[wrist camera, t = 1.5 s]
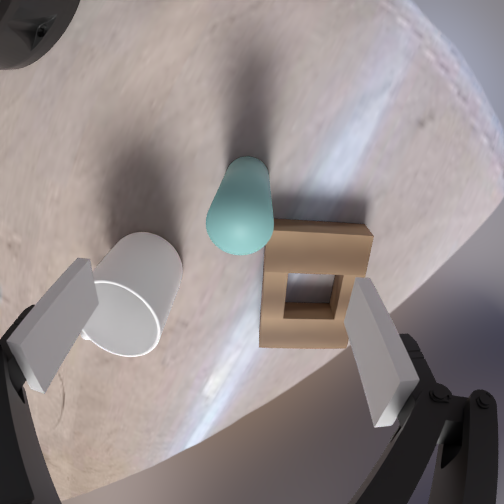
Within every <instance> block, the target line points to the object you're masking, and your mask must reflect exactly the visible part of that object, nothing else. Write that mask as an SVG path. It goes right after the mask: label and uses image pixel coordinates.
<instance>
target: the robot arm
mask: <svg viewBox="0 0 504 504" xmlns="http://www.w3.org/2000/svg"><path fill="white" fill-rule="evenodd" d="M78 3H79V0H0V70H10V69H19V68H23V67H25V66H28V65H30V64H32V63H33V62H35V61H37V60H38V59H39V58H41V57H42V56H43V55H44V54H45V53H47V52H48V51H49V50H50V49H51V48H52V47H53V45H54V44H55V43H56V42H57V41H58V40H59V38H60V37H61V36H62V34H63V33H64V31H65V30H66V28H67V27H68V25H69V23H70V22H71V20H72V18H73V16H74V14H75V11H76V9H77V6H78ZM98 304H99V301H98V296H97V292H96V287H95V282H94V278H93V273H92V267H91V262H90V259H85V258H77V259H76V260H75V261H74V262H73V263H72V264H71V265H70V267H69V268H68V269H67V270H66V271H65V272H64V273H63V274H62V275H61V276H60V277H59V279H58V280H57V281H56V282H55V283H54V284H53V285H52V286H51V287H50V289H49V290H48V291H47V292H46V293H45V294H44V296H43V297H42V298H41V299H40V300H39V301H38V302H37V304H36V305H31V306H30V307H28V308H27V309H25V310H24V311H23V312H22V313H21V314H20V316H19V317H18V319H16V320H15V322H14V324H12V325H11V326H10V328H9V329H8V330H7V331H6V333H5V334H4V335H3V336H2V338H1V339H0V504H61V501H60V499H59V497H58V494H57V492H56V489H55V487H54V484H53V482H52V479H51V477H50V474H49V471H48V468H47V466H46V463H45V460H44V457H43V454H42V451H41V448H40V445H39V441H38V438H37V435H36V431H35V428H34V424H33V421H32V417H31V413H30V409H29V405H28V400H27V396H26V391H25V389H24V387H23V384H24V383H25V381H27V383H28V384H29V386H30V388H31V389H32V390H35V391H38V392H41V393H44V394H45V392H46V391H47V389H48V387H49V385H50V383H51V382H52V380H53V378H54V376H55V374H56V373H57V371H58V369H59V367H60V366H61V364H62V362H63V361H64V359H65V357H66V356H67V354H68V352H69V351H70V349H71V347H72V346H73V344H74V342H75V341H76V339H77V337H78V336H79V334H80V333H81V331H82V329H83V328H84V326H85V325H86V323H87V321H88V320H89V318H90V317H91V315H92V314H93V312H94V311H95V309H96V307H97V306H98ZM344 325H345V328H346V331H347V334H348V337H349V341H350V344H351V347H352V350H353V354H354V357H355V360H356V363H357V367H358V371H359V374H360V377H361V381H362V384H363V388H364V391H365V395H366V398H367V402H368V406H369V410H370V413H371V417H372V421H373V424H374V427H382V426H390V425H392V424H393V423H394V421H395V420H396V418H397V417H398V420H399V423H400V425H399V427H398V428H397V430H396V431H395V433H394V434H393V435H392V437H391V440H390V442H389V444H388V445H387V447H386V449H385V450H384V452H383V453H382V455H381V457H380V458H379V460H378V461H377V463H376V465H375V466H374V467H373V469H372V471H371V472H370V473H369V475H368V476H367V478H366V479H365V481H364V482H363V484H362V485H361V487H360V488H359V489H358V491H357V492H356V493H355V495H354V496H353V498H352V499H351V500H350V502H349V503H348V504H407V503H408V501H409V499H410V497H411V495H412V493H413V492H414V490H415V488H416V486H417V484H418V482H419V480H420V478H421V476H422V474H423V472H424V470H425V468H426V466H427V464H428V462H429V460H430V457H431V455H432V453H433V451H434V448H435V446H436V444H439V446H438V453H437V459H436V466H435V471H434V477H433V482H432V487H431V492H430V497H429V501H428V504H496V493H497V478H498V421H497V404H496V401H495V399H494V397H493V396H492V395H491V394H490V393H489V392H487V391H485V390H475V391H473V392H472V394H471V395H470V396H469V398H466V397H459V396H453V395H452V393H451V392H450V390H449V389H448V388H447V387H445V386H444V385H442V384H439V383H436V381H435V378H434V376H433V374H432V372H431V370H430V368H429V366H428V364H427V362H426V360H425V359H424V356H423V354H422V352H420V348H419V346H418V344H417V342H416V341H415V340H414V339H413V338H412V337H411V336H410V335H409V334H398V332H397V330H396V328H395V326H394V323H393V321H392V319H391V317H390V315H389V313H388V311H387V309H386V307H385V305H384V304H383V302H382V300H381V298H380V296H379V294H378V292H377V290H376V288H375V286H374V284H373V282H372V281H371V279H370V278H362V277H356V278H355V282H354V286H353V290H352V293H351V297H350V301H349V305H348V309H347V312H346V316H345V319H344Z"/></svg>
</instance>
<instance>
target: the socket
mask: <svg viewBox="0 0 504 504" xmlns="http://www.w3.org/2000/svg"><path fill="white" fill-rule="evenodd" d="M373 237H374V236H373V235H372V233H371V232H370V231H369V229H368V228H367V227H366V225H365V224H355V223H340V222H325V221H308V220H291V219H274V229H273V233H272V236H271V238H270V240H269V241H268V243H267V244H266V245H265V252H264V268H263V283H262V298H261V313H260V328H259V347H260V348H300V349H337V348H346V347H347V344H348V340H349V337H348V334H347V331H346V328H345V325H344V319H345V316H346V312H347V309H348V305H349V301H350V297H351V293H352V290H353V286H354V282H355V278H356V277H362V278H365V274H366V270H367V266H368V261H369V257H370V252H371V247H372V242H373ZM288 273H305V274H332V275H335V278H334V283H333V289H332V294H331V299H330V303H297V302H285V297H286V288H287V279H288Z"/></svg>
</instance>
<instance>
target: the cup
mask: <svg viewBox="0 0 504 504" xmlns="http://www.w3.org/2000/svg"><path fill="white" fill-rule="evenodd" d="M92 273H93V278H94V282H95V287H96V292H97V296H98V301H99V304H98V306H97V307H96V309H95V311H94V312H93V314H92V315H91V317H90V318H89V320H88V321H87V323H86V325H85V326H84V328H83V329H82V331H81V337H82V338H83V339H86V340H88V339H90V340H91V341H92V342H93V343H95V344H96V345H97V346H99V347H100V348H102V349H104V350H106V351H108V352H110V353H113V354H116V355H120V356H126V357H136V356H141V355H144V354H147V353H148V352H150V351H151V350H153V349H154V348H155V347H156V345H157V344H158V342H159V339H160V337H161V334H162V331H163V328H164V326H165V323H166V320H167V318H168V315H169V313H170V310H171V307H172V305H173V302H174V299H175V297H176V294H177V292H178V289H179V286H180V284H181V280H182V274H183V268H182V263H181V259H180V257H179V255H178V253H177V251H176V250H175V249H174V247H173V246H172V245H171V244H170V243H169V242H168V241H166V240H165V239H163V238H162V237H160V236H158V235H155V234H152V233H148V232H136V233H132V234H129V235H127V236H125V237H123V238H122V239H121V240H120V241H119V242H118V243H117V244H116V245H115V246H114V247H113V248H112V249H111V250H110V251H109V253H108V254H107V255H106V256H105V257H104V258H103V260H102V261H101V262H100V263H99V264H98V266H97V267H96V268H95V269H94V270H93V272H92Z"/></svg>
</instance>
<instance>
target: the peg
mask: <svg viewBox="0 0 504 504" xmlns="http://www.w3.org/2000/svg"><path fill="white" fill-rule="evenodd" d="M206 229H207V232H208V235H209V237H210V239H211V240H212V242H213V243H214V244H215V245H216V246H217V247H218V248H220V249H221V250H223V251H225V252H227V253H230V254H234V255H248V254H252V253H254V252H256V251H258V250H260V249H261V248H263V247H264V246H265V245H266V244H267V243H268V241H269V240H270V238H271V236H272V233H273V229H274V219H273V209H272V200H271V191H270V182H269V173H268V170H267V168H266V166H265V165H264V163H263V162H261V161H260V160H259V159H257V158H254V157H250V156H245V157H240V158H238V159H236V160H234V161H233V162H232V163H231V164H230V166H229V167H228V169H227V171H226V173H225V176H224V178H223V180H222V182H221V184H220V186H219V189H218V191H217V193H216V195H215V197H214V200H213V202H212V204H211V206H210V209H209V211H208V213H207V217H206Z"/></svg>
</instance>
